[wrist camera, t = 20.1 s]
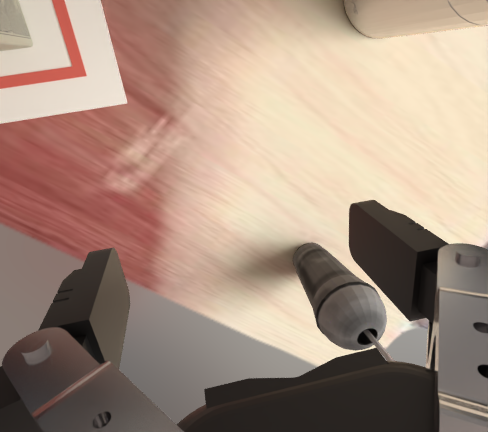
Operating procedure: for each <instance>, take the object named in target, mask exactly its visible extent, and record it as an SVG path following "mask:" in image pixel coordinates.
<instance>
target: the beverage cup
mask: <svg viewBox="0 0 488 432" xmlns="http://www.w3.org/2000/svg"><path fill="white" fill-rule="evenodd" d="M293 263H294V266H295V269H296V272H297V274H298V277H299V279H300V281H301V283H302V285H303V288H304V290H305V292H306V294H307V296H308V299H309V301H310V303H311V305H312V307H313V311H314V315H315V318H316V323H317V327H318V328H319V329H320V331H321V332H322V333H323V334H324V335H326V337H327V338H328V339H329V340H330V341H331V342H333V343H334V344H336V345H338V346H340V347H342V348H344V349H349V350H362V349H366V348H369V347H371V346H372V345H375V346H376V348H377V349H378V350H379V351H380V352H381V354H382V355H383V356H384V357H385V358H386V360H387V361H394V360H393V358H392V357H391V356H390V355H389V354H388V353H387V351H386V350H385V349H384V348H383V347H382V345H381V344H380V343H379V342H378V340H379V339H380V338H381V336H382V335H383V333H384V331H385V327H386V322H387V317H386V310H385V306H384V304H383V302H382V300H381V299H380V296H379V294H378V293H377V291H376V289H375V288H374V287H372V286H371V285H369V284H368V283H365V282H364V281H362V280H361V279H359V278H358V277H356V276H355V275H354V274H353V273H351V272H350V271H349V270H348V269H347V268H346V267H345V266H344V265H342V264H341V263H340V262H339V261H338V260H337V259H336V258H335V257H333V256H332V255H331V254H330V253H329V252H328V251H326V250H325V249H324V248H322V247H321V246H320V245H318V244H315V243H307V244H305V245H303V246H301V247H300V248H298V250H297V251H296V252H295V254H294V256H293Z"/></svg>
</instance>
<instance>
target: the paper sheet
mask: <svg viewBox="0 0 488 432" xmlns="http://www.w3.org/2000/svg"><path fill="white" fill-rule="evenodd" d="M19 3H20V6H21V9H22V12H23V15H24V18H25V21H26V23H27V26H28V29H29V33H30V36H31V39H32V42H33V46H32V47H28V48H21V49H14V50H6V51H0V124H1V123H7V122H13V121H20V120H26V119H32V118H38V117H45V116H51V115H57V114H63V113H70V112H76V111H82V110H89V109H95V108H101V107H107V106H114V105H120V104H126V103H127V99H126V95H125V92H124V88H123V84H122V80H121V76H120V72H119V69H118V65H117V61H116V57H115V53H114V49H113V46H112V42H111V38H110V34H109V30H108V26H107V23H106V19H105V15H104V11H103V7H102V3H101V0H19Z"/></svg>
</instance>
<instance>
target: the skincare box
mask: <svg viewBox="0 0 488 432" xmlns="http://www.w3.org/2000/svg"><path fill="white" fill-rule="evenodd" d="M32 46H33V42H32V39H31V36H30V33H29V29H28V26H27V23H26V21H25V18H24V15H23V12H22V9H21V6H20V3H19V0H0V51H6V50H14V49H21V48H28V47H32Z"/></svg>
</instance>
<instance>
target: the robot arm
mask: <svg viewBox="0 0 488 432" xmlns="http://www.w3.org/2000/svg"><path fill="white" fill-rule="evenodd" d="M344 6H345V10H346V13H347V16H348V18H349V20H350V21H351V23H352V24H353V26H354V27H355V28H356V29H357V30H358V31H359V32H361V33H362V34H363V35H365V36H368V37H371V38H378V39H381V38H389V37H398V36H407V35H416V34H424V33H432V32H440V31H448V30H456V29H464V28H472V27H480V26H488V0H344ZM349 248H350V252H351V255H352V257H353V259H354V261H355V262H356V263H357V264H358V265H359V266H360V267H361V268H362V269H363V271H364V272H365V273H366V274H367V275H368V276H369V277H370V278H371V279H372V280H373V282H374V283H375V284H376V285H377V286H378V287H379V288H380V289H381V290H382V291H383V293H384V294H385V295H386V296H387V297H388V298H389V299H390V300H391V301H392V302H393V303H394V305H395V306H396V307H397V308H398V309H399V310H400V311H401V312H402V313H403V314H404V316H405V317H406V318H407V319H408V320H409V321H414V320H418V319H423V318H427V319H428V320H429V325H428V336H427V337H428V338H427V354H426V367H422V366H419V365H415V364H410V363H405V362H397V361H386V360H385V359H384V358H383V356H382V355H381V353H380V352H379V350H378V349H377V348H374V349H370V350H366V351H361V352H357V353H353V354H349V355H345V356H341V357H336V358H334V359H332V360H331V361H329V362H327V363H325V364H323V365H321V366H319V367H317V368H315V369H313V370H311V371H309V372H307V373H305V374H303V375H301V376H299V377H295V378H256V379H255V378H254V379H245V380H241V381H237V382H232V383H228V384H224V385H220V386H216V387H212V388H208V389H205V400H206V405H204V406H202V407H200V408H198V409H197V410H195V411H194V412H192V413H190V414H189V415H188V416H186V417H185V418H184V419H183V420H181V421H180V422H179V423H178V424H177V425H176V424H175V423H174V422H173V421H172V420H171V419H170V418H169V417H168V416H167V415H166V414H165V413H164V412H163V411H162V410H161V409H160V408H159V407H158V406H156V405H155V404H154V403H153V402H152V401H151V400H150V399H149V398H148V397H147V396H146V395H145V394H144V393H143V392H142V391H141V390H140V389H139V388H137V386H135V385H134V384H133V383H132V382H131V381H130V380H129V379H128V378H127V377H126V376H125V375H124V374H123V373H122V372H121V371H120V370H119V366H120V361H121V355H122V349H123V343H124V337H125V331H126V325H127V320H128V314H129V308H130V296H129V290H128V286H127V283H126V280H125V276H124V273H123V270H122V267H121V263H120V260H119V257H118V254H117V251H116V250H115V248H109V249H103V250H98V251H93V252H89V254H88V256H87V258H86V260H85V263H84V265H83V267H82V269H79V270H74V271H73V272H72V273H71V274H70V275H69V276H68V277H67V278H66V279H64V280H63V282H62V284H61V286H60V288H59V290H58V294H56V296H55V298H54V300H53V303H52V304H51V306H50V308H49V310H48V312H47V314H46V316H45V318H44V320H43V322H42V324H41V326H40V328H39V330H38V331H36V332H34V333H32V334H30V335H28V336H26V337H24V338H22V339H21V340H19V341H18V342H17V343H16V344H14V345H13V346H12V347H11V348H10V349H9V350H8V352H7V353H6V354H5V356H4V358H3V361H2V366H1V367H0V432H488V250H487V249H485V248H482V247H479V246H475V245H471V244H448V243H446V242H445V241H443V240H442V239H440V238H439V237H437V236H436V235H434V234H433V233H431V232H430V231H428V230H427V229H424V227H422V226H421V225H419V224H418V223H415V221H413V220H412V219H410V218H409V217H407V216H406V215H403V214H400V213H397V212H394V211H391V210H388V209H387V208H385V207H384V206H382V205H381V204H380V203H378V202H377V201H375V200H369V201H364V202H358V203H353V204H351V206H350V209H349Z"/></svg>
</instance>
